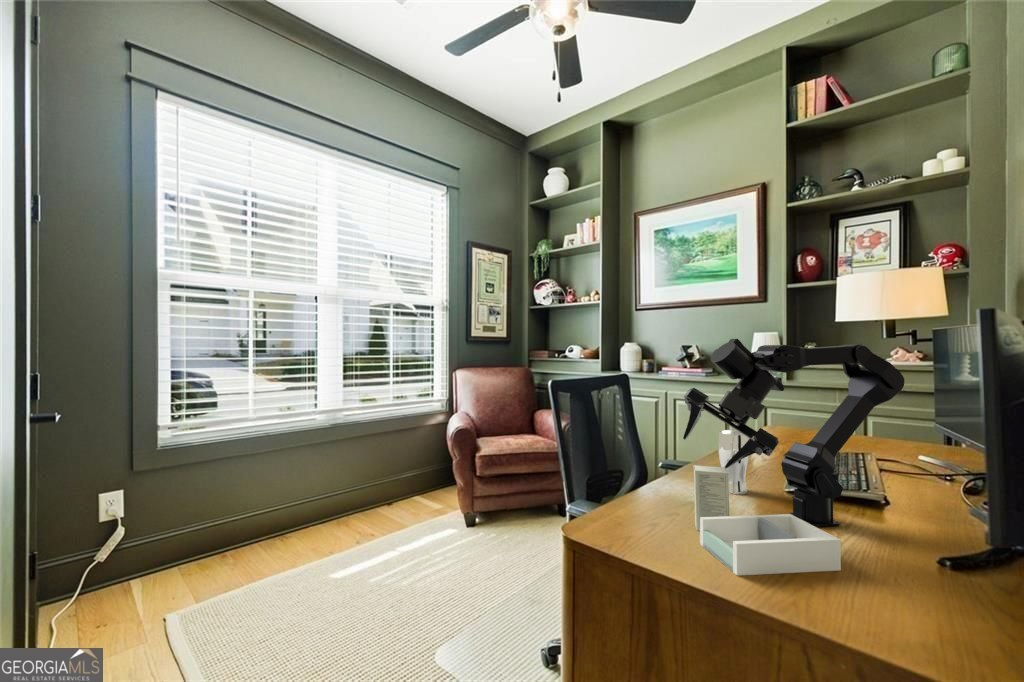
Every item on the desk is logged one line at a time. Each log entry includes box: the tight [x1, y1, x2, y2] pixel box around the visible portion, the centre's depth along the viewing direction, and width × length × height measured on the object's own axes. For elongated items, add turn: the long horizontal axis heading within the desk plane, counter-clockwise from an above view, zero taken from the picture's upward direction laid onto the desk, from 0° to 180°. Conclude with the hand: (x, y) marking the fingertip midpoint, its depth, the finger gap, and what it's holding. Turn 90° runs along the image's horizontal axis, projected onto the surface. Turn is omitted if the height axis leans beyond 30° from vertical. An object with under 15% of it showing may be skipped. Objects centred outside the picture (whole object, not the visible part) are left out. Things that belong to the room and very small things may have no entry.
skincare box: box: [693, 464, 730, 532], centre depth 86 cm, size 6×4×12 cm
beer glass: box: [717, 429, 749, 495], centre depth 110 cm, size 7×7×15 cm
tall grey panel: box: [758, 518, 797, 540], centre depth 75 cm, size 1×8×4 cm, turn 6°
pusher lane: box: [699, 513, 842, 576], centre depth 75 cm, size 18×11×5 cm, turn 96°
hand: (704, 452), depth 87 cm, fingers open, 9 cm apart
